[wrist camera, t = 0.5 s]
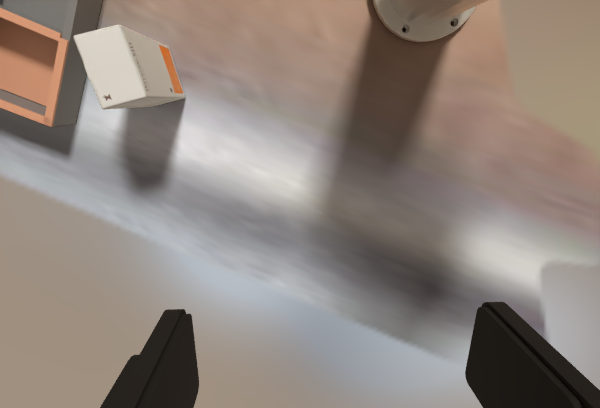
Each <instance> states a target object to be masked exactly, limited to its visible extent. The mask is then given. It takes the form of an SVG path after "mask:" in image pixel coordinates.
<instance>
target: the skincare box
mask: <svg viewBox="0 0 600 408" xmlns="http://www.w3.org/2000/svg"><path fill="white" fill-rule="evenodd" d="M74 41H75V43H76V46H77V48H78V51H79V53H80V56H81V58H82V60H83V63H84V67H85V70H86V73H87V75H88V78H89V79H90V81H91V83H92V85H93V88H94V90H95V92H96V95H97V97H98V100H99V102H100V105H101V107H102V109H116V108H136V107H153V106H157V105H161V104H165V103H169V102H173V101H177V100H180V99H184V98H185V94H184V92H183V89H182V86H181V83H180V80H179V77H178V74H177V71H176V68H175V65H174V62H173V58H172V55H171V52H170V49H169V47H168V46H166V45H164V44H162V43H160V42H157V41H155V40H153V39H151V38H149V37H146V36H144V35H142V34H140V33H137V32H135V31H133V30H131V29H128V28H126V27H124V26H122V25H119V24H118V25H115V26H110V27H106V28H102V29H98V30H94V31H90V32H86V33H82V34H78V35H74Z"/></svg>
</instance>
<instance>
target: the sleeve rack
mask: <svg viewBox="0 0 600 408" xmlns="http://www.w3.org/2000/svg"><path fill="white" fill-rule="evenodd" d="M102 1H103V0H0V108H3V109H5V110H8V111H10V112H13V113H16V114H18V115H21V116H24V117H26V118H29V119H31V120H34V121H37V122H39V123H42V124H45V125H47V126H50V127H54V126H62V125H69V124H76V121H77V117H78V112H79V107H80V103H81V98H82V93H83V89H84V84H85V80H86V75H87V73H86V70H85V67H84V63H83V60H82V58H81V56H80V53H79V51H78V48H77V46H76V43H75V41H74V35H78V34H82V33H86V32H90V31H94V30H96V29H97V24H98V19H99V15H100V10H101V5H102Z"/></svg>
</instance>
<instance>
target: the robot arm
mask: <svg viewBox="0 0 600 408" xmlns="http://www.w3.org/2000/svg"><path fill="white" fill-rule="evenodd" d="M372 1H373V5H374V8H375V10H376V13H377V15H378V17H379V18H380V20H381V21H382V23H383V24H384V25H385V27H387V28H388V29H389V30H390V31H391V32H392V33H393V34H395V35H397V36H398V37H400V38H402V39H405V40H408V41H412V42H428V41H434V40H437V39H440V38H442V37H444V36H447V35H449V34H451V33H452V32H454V31H455V30H457V29H458V28H459V27H460V26H461V25H462V24H463V23H464V22H465V21H466V20H468V18H469V17H470V16H471V14H472V13H473V12H474V10H475V9H476V7H477V5H479V4H481V3H483V2H485V1H488V0H372ZM451 22H452V23H453V25H452V26H451ZM402 28H404V29H405V32H402ZM195 351H196V350H195V342H194V333H193V324H192V316H191V314H186V312H185V310H184V309H177V310H165V311H164V313H163V315H162V316H161V318H160V320H159V322H158V323H157V325H156V327H155V329H154V330H153V332H152V334H151V336H150V338H149V339H148V341H147V343H146V344H145V346H144V348H143V350H142V352H141V353H140V355H134V356H132V357H131V358H130V359H129V360H128V362H127V364H126V365H125V367H124V369H123V370H122V372H121V374H120V375H119V377H118V379H117V380H116V382H115V384H114V386H113V387H112V389H111V390H110V392H109V394H108V396H107V397H106V399H105V400H104V402H103V404H102V405H101V407H100V408H193V407H194V404H195V400H196V397H197V393H198V388H199V377H198V368H197V359H196V352H195ZM465 374H466V380H467V383H468V384H469V386H470V388H471V389H472V391H473V392H474V394H475V395H476V397H477V399H478V400H479V402H480V403H481V405H482V406H483V408H600V390H599V389H598V388H596V387H595V386H594V385H593V384H592V383H591V382H590V381H589V380H588V379H587V378H586V377H584V375H582V374H581V373H580V372H579V371H578V370H577V369H576V368H575V367H574V366H573V365H572V364H570V362H568V361H567V360H566V359H565V358H564V357H563V356H562V355H561V354H560V353H559V352H558V351H556V350H555V349H554V348H553V347H552V346H551V345H550V344H549V343H548V342H547V341H546V340H545V339H544V338H543V337H541V336H540V335H539V334H538V333H537V332H536V331H535V330H534V329H533V328H532V327H531V326H530V325H529V324H527V323H526V322H525V321H524V320H523V319H522V318H521V317H520V316H519V315H518V314H517V313H516V312H515V311H513V310H512V309H511V308H510V307H509V306H508V305H507V304H506V303H504V302H485V303H483V305H482V307H479V308H478V310H477V314H476V319H475V324H474V330H473V335H472V340H471V345H470V350H469V356H468V361H467V366H466V372H465Z"/></svg>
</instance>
